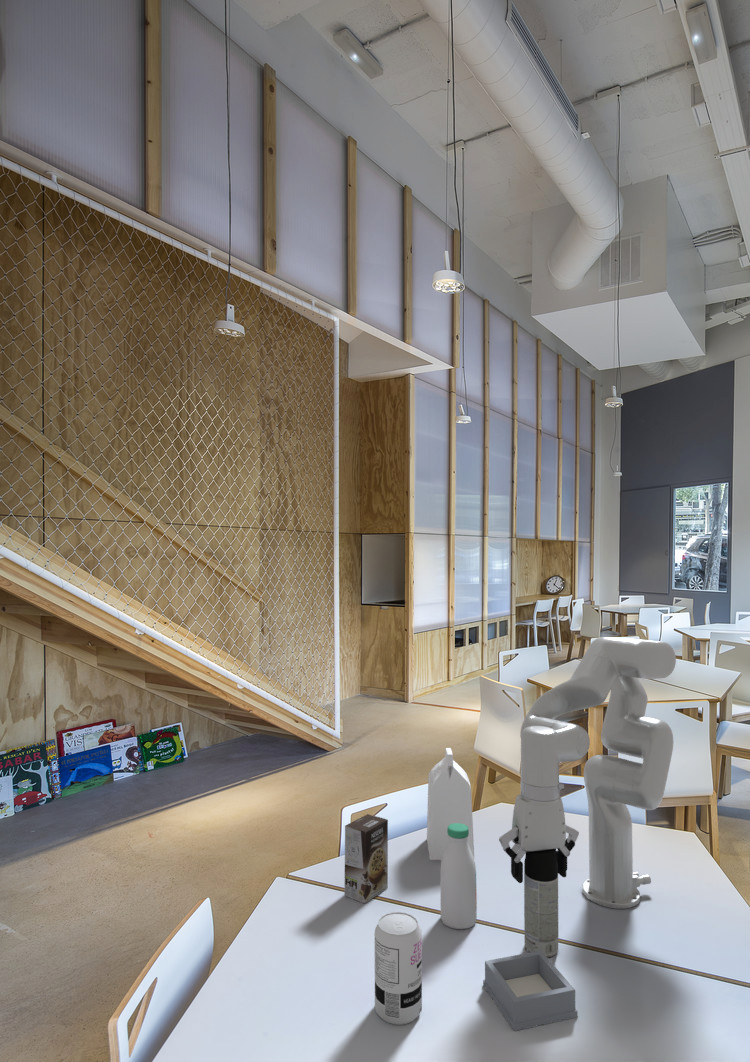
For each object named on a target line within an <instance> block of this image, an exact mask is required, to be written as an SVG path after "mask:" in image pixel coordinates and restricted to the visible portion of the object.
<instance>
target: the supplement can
mask: <svg viewBox="0 0 750 1062" xmlns="http://www.w3.org/2000/svg"><path fill="white" fill-rule="evenodd" d="M422 932H423V931H422V929H421V926H420V925H419V921H418V920H417V918H416V917H415V916H414V915H412V914H410V913H406V912H402V911H401V912H400V911H393V912H388V913H385V914H384V915H381V916H380V917H379V919H378V922H377V923H376V926H375V928H374V1009H375V1011H376V1014H377V1015H378V1016H379V1017H380V1018H381V1019H382V1020H383V1021H385V1022H387V1023H388V1024H392V1025H396V1026H397V1025H398V1026H401V1025H406V1024H409V1023H412V1022H413V1021H414V1020H416V1019H417V1018H418V1017H419V1016H420V1014H421V1013H422V1010H423V996H422V995H423V992H422V991H423V988H422V987H423V983H422V981H423V971H422V970H423V965H422V963H423V962H422V961H423V960H422V959H423V958H422V957H423V955H422V954H423V951H422V950H423V949H422V948H423V947H422V946H423V945H422V944H423V941H422V939H423V937H422V936H423V935H422Z"/></svg>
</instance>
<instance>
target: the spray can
mask: <svg viewBox="0 0 750 1062" xmlns="http://www.w3.org/2000/svg"><path fill="white" fill-rule="evenodd" d="M556 851H557V849H550V850H542V851H533V852H526V853H525V855H524V856H525V857H524V861H523V862H524V863H523V885H524V886H523V887H524V889H523V890H524V891H523V893H524V894H523V895H524V896H523V898H524V900H523V903H524V904H523V905H524V907H523V909H524V910H523V912H524V913H523V914H524V916H523V917H524V920H523V921H524V925H523V926H524V927H523V929H524V947H525V950H526V951H527V953H530V952H536V951H542V952H543V954H544V955H545V956H546V957H547V958H553V957H554V956H555V955H557V953H558V951H559V874H558V864H557V858H556ZM552 956H553V957H552Z"/></svg>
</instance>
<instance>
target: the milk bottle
mask: <svg viewBox="0 0 750 1062" xmlns="http://www.w3.org/2000/svg"><path fill="white" fill-rule="evenodd" d="M447 833H448V835H447V836H448V838H449V840H448V845H447V848H446V850H445V852H444V854H443V857H442V860H440V919H441V922H442V923H443V924H444V925H445V926H447V927H449V928H451V929H455V930H466V929H467V930H468V929H470V928H471V927H473V926H475V924H476V922H477V915H478V914H477V913H478V912H477V911H478V910H477V908H478V907H477V903H478V901H477V899H478V898H477V866H476V861H475V856H474V857H473V855H472V853H471V850H470V848H469V844H468V838H469V836H468V835H469V828H468V826H466V825H464V824H461V823H453V824H450V825H449V826H448V828H447Z"/></svg>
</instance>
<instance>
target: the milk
mask: <svg viewBox="0 0 750 1062" xmlns="http://www.w3.org/2000/svg"><path fill="white" fill-rule="evenodd" d="M444 751H445V752H444V753H445V754H444V757H443V758H442V759H441V760H440V761H438V762H437V763H436V764H435V765H434V766H433V767H432V768H431V770H430V771H429V773H428V777H427V782H428V783H427V785H428V786H427V812H426V813H427V816H426V817H427V820H426V842H427V851H428V856H429V860H430V861H442V857H443V854H444V852H445V850H446V848H447V845H448V840H449V838H448V836H447V835H448V833H447V828H448V826H449V825H450V824H453V823H461V824H464V825H466V826H468V828H469V835H468V836H469V838H468V844H469V848H470V850H471V853H472V855H473V857H474V858H475V843H474V842H475V840H474V825H473V824H474V821H473V800H472V788H471V786H472V785H471V782H470V779H469V775H468V773H467V772H466V771H465V770H464V768H462V766H460V765H459V764H458V762H456V761H455V759H454V754H453V751H452V748H451V747H446V748H445V750H444Z"/></svg>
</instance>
